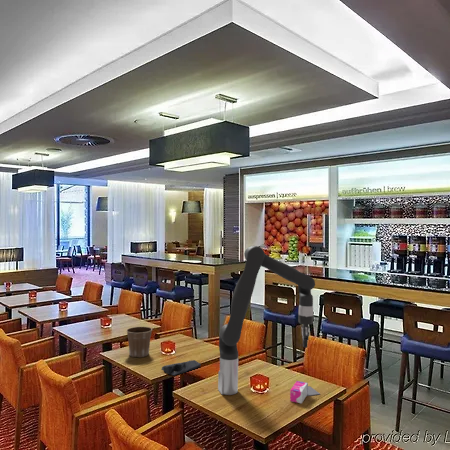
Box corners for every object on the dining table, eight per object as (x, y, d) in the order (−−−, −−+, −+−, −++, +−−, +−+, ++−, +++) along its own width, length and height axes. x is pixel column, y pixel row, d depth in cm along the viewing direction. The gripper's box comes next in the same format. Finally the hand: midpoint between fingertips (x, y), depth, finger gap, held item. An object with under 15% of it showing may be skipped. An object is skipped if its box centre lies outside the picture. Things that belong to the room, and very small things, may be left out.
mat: (302, 396, 200) (302, 396, 200) (292, 388, 209) (292, 388, 209) (320, 394, 203) (320, 393, 203) (309, 386, 212) (309, 386, 212)
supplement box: (307, 382, 202) (301, 392, 191) (307, 393, 202) (301, 404, 192) (296, 380, 204) (289, 389, 194) (296, 391, 204) (290, 401, 194)
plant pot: (120, 354, 259) (121, 329, 259) (141, 349, 271) (142, 325, 271) (135, 360, 248) (136, 334, 248) (156, 354, 260) (157, 329, 260)
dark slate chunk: (204, 369, 237) (204, 361, 237) (171, 377, 223) (172, 368, 223) (190, 362, 249) (190, 354, 249) (158, 369, 235) (158, 361, 235)
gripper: (297, 311, 218) (296, 343, 218) (299, 316, 205) (298, 350, 205) (311, 311, 217) (311, 344, 217) (314, 317, 204) (313, 351, 204)
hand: (305, 347), depth 211 cm, fingers closed
